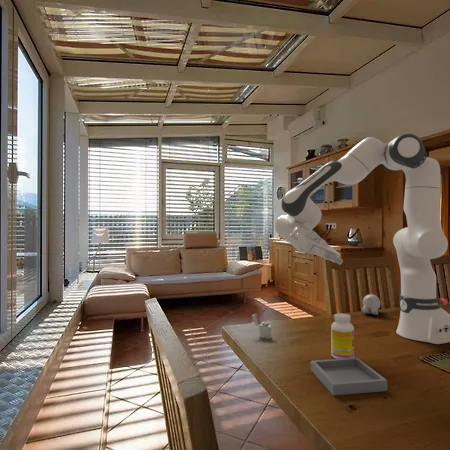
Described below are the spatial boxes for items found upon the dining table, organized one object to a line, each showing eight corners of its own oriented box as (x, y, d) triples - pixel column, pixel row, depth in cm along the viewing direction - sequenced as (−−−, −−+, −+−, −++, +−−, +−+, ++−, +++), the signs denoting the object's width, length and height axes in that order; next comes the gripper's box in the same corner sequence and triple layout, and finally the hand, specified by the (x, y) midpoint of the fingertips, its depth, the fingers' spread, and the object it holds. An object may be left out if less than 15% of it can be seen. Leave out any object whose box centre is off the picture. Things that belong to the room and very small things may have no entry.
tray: (357, 366, 97) (357, 357, 97) (387, 390, 83) (387, 380, 83) (310, 370, 95) (310, 360, 95) (333, 395, 81) (333, 384, 81)
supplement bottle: (356, 362, 100) (355, 318, 99) (332, 360, 101) (332, 317, 101) (352, 353, 106) (351, 312, 106) (330, 352, 107) (329, 311, 107)
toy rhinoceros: (383, 318, 153) (385, 299, 155) (376, 313, 144) (379, 294, 146) (366, 315, 157) (368, 297, 159) (359, 310, 148) (361, 291, 151)
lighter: (271, 337, 122) (271, 315, 121) (269, 339, 120) (269, 316, 120) (253, 334, 125) (253, 312, 125) (251, 335, 124) (251, 313, 124)
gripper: (292, 224, 118) (319, 242, 107) (326, 240, 130) (353, 258, 119) (283, 240, 119) (309, 259, 108) (317, 254, 131) (344, 273, 120)
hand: (333, 259), depth 113 cm, fingers open, 8 cm apart
